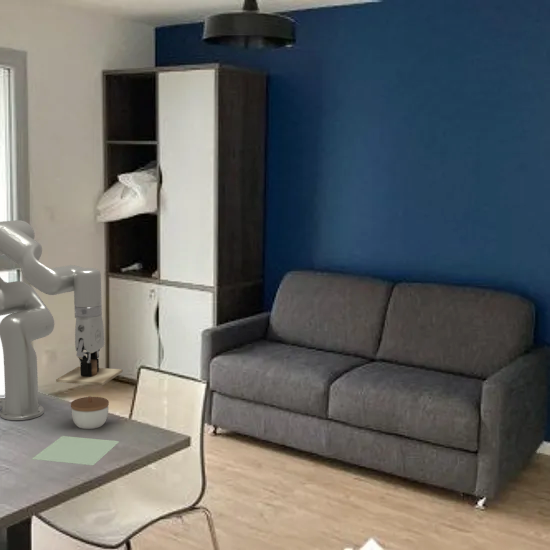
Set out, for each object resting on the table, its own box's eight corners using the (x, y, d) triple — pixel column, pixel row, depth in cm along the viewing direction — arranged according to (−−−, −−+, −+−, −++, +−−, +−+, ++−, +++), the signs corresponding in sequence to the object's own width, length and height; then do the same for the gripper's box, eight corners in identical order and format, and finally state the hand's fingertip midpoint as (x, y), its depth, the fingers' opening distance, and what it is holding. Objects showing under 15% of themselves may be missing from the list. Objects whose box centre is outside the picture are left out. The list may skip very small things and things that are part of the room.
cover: (56, 382, 212) (55, 365, 211) (78, 369, 226) (78, 353, 225) (102, 385, 209) (102, 368, 209) (122, 372, 223) (122, 356, 222)
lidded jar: (99, 435, 214) (99, 403, 212) (64, 432, 216) (63, 400, 214) (115, 423, 224) (114, 392, 223) (81, 420, 226) (80, 390, 225)
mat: (31, 462, 194) (31, 459, 194) (62, 439, 210) (62, 435, 210) (93, 469, 191) (93, 465, 191) (119, 444, 207) (119, 441, 207)
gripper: (87, 318, 206) (89, 383, 209) (112, 306, 222) (113, 367, 225) (62, 316, 207) (64, 381, 210) (88, 305, 224) (90, 365, 226)
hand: (89, 373), depth 217 cm, fingers closed on cover, 4 cm apart
